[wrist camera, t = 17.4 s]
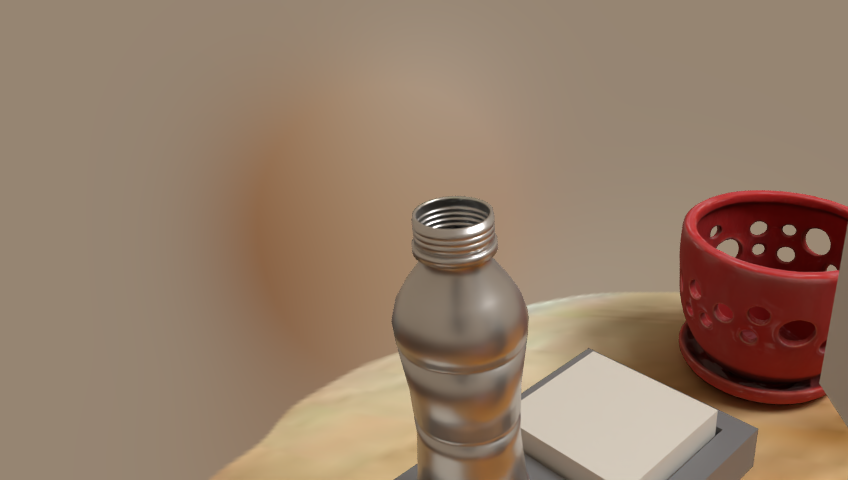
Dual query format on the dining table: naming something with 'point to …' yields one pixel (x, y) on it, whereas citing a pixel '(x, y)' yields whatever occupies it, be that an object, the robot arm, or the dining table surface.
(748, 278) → the plant pot
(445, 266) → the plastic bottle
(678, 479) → the keypad frame
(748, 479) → the dining table surface
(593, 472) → the pale key
